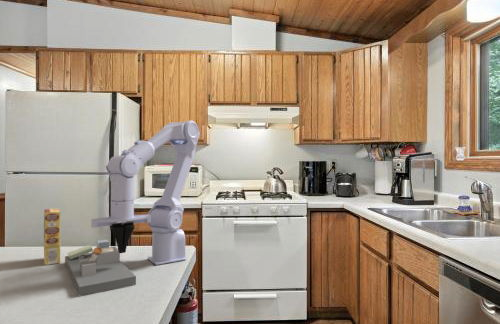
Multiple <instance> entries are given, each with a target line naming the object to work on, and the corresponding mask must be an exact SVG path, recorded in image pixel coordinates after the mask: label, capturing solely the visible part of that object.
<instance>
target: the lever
mask: <svg viewBox="0 0 500 324" xmlns="http://www.w3.org/2000/svg"><path fill="white" fill-rule="evenodd" d="M92 252H93V255H92V256H91V258H90V260H89V262H88V263H87V264H91V263H94V261H95V260H96V258H97V256H98V255H100V254H101V252H102V249H101V248H100V247H97V246H95V248H94V249H93V251H92Z"/></svg>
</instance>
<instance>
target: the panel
mask: <svg viewBox="0 0 500 324" xmlns="http://www.w3.org/2000/svg"><path fill="white" fill-rule="evenodd" d="M108 248H114V251H110V252H103V253H101V254H100V255H98V256H97V258H96V260H95V261H94V263H91V264H87V263H88V262H89V260H90V258H91V256H92V255H93V251H91V252H89V253H86V254H84V255H81V256H78V257H76V258H73V259H70V258H69V256H68V255H66V256H64V264H65V266H66V269H67V270H68V273H69V275H70V278H71V280H72V283H73V285H74V287H75V289H76V291H77V294H78V296H79V297H81V296H82V297H83V296H88V295H92V294H97V293H102V292H103V293H104V292H108V291H112V290H116V289H122V288H126V287H131V286H136V285H137V276H136V275H135V274H134V273H133V272H132V271H131V270H130V269H129V268H128V267H127V266H126V265H125V264H124V263H123V262H121V259H120V257H121V253H119V252H118V247H116V246H109V247H108ZM101 249H102V248H101Z"/></svg>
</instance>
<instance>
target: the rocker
mask: <svg viewBox="0 0 500 324" xmlns="http://www.w3.org/2000/svg"><path fill="white" fill-rule="evenodd" d="M93 250H94V249H93V247H92V246H91V245H90V244H88V245H86V246H82V247H80V248H77V249H75V250H71V251H69V252H67V256H69V258H70V259H73V258H76V257H78V256H81V255H84V254H86V253H92V252H93Z"/></svg>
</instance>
